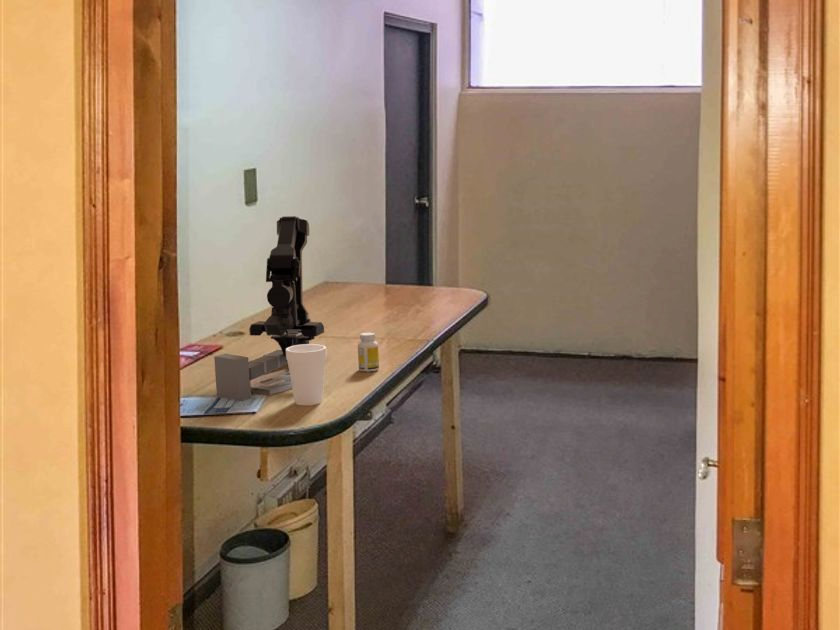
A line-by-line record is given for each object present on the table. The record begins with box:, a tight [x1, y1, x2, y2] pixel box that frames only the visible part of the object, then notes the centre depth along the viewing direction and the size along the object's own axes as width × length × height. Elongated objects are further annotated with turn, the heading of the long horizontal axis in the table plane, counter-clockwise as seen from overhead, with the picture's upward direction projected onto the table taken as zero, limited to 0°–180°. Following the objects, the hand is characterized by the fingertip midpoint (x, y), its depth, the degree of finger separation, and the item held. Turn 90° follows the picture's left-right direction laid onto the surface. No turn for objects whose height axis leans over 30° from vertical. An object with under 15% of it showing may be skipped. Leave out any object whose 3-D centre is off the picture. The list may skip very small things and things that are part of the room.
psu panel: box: [250, 368, 293, 396], centre depth 265 cm, size 18×13×2 cm
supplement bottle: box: [357, 332, 380, 373], centre depth 277 cm, size 5×5×10 cm
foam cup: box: [286, 343, 328, 406], centre depth 246 cm, size 10×9×13 cm
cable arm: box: [249, 349, 288, 394], centre depth 264 cm, size 22×4×7 cm, turn 159°
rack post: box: [213, 353, 252, 402], centre depth 252 cm, size 4×8×10 cm, turn 53°
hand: (288, 361), depth 270 cm, fingers closed
